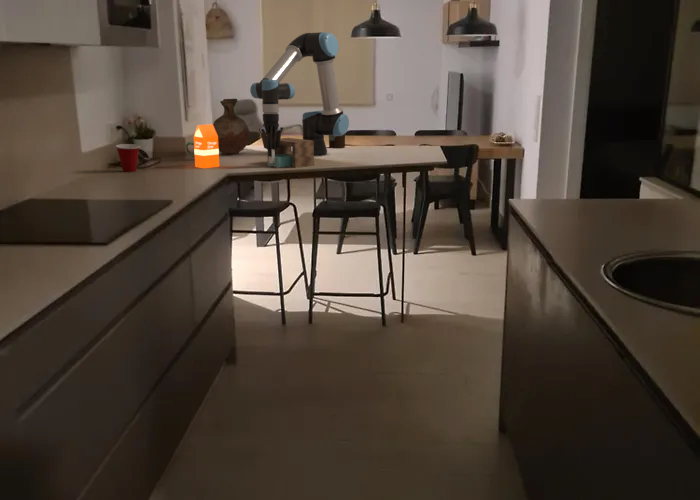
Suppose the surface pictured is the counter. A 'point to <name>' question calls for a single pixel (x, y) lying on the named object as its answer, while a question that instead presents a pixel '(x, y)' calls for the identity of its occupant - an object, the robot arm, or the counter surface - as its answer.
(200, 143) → the orange juice
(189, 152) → the mug
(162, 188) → the counter surface
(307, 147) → the shelf
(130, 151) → the plastic cup
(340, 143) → the olive oil
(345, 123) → the robot arm
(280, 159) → the teal rectangular block
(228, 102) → the jug
